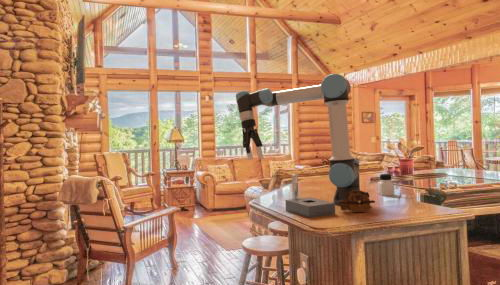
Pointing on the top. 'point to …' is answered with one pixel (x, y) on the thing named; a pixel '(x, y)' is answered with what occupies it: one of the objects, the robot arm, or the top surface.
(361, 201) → the wooden carving
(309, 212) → the pin block
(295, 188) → the pin
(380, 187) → the medicine bottle
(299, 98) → the robot arm
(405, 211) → the top surface
